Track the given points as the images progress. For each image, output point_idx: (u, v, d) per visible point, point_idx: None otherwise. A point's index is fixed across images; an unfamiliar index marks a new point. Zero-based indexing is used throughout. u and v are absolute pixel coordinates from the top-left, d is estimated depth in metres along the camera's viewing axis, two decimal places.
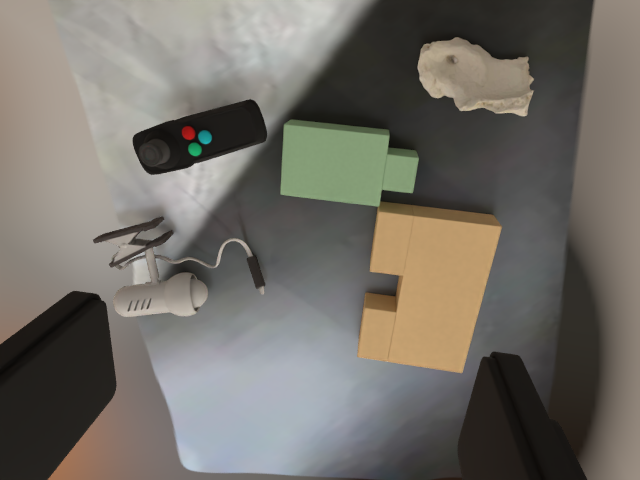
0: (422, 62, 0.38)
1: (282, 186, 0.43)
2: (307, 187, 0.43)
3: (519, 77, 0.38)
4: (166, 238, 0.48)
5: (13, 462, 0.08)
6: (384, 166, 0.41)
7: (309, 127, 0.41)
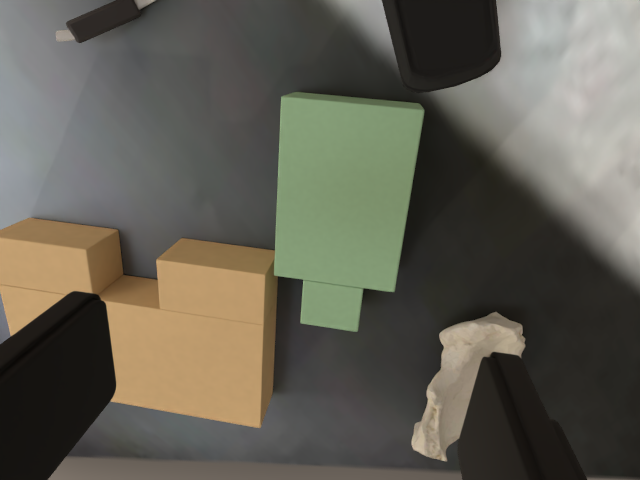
0: (500, 331, 0.25)
1: (298, 101, 0.21)
2: (300, 153, 0.22)
3: (460, 432, 0.29)
4: None
5: (13, 462, 0.08)
6: (343, 284, 0.25)
7: (414, 160, 0.22)
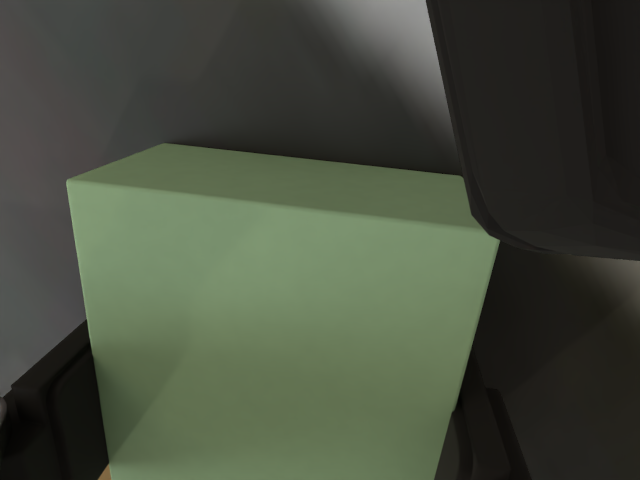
0: None
1: (116, 196, 0.07)
2: (142, 329, 0.08)
3: None
4: None
5: (86, 442, 0.09)
6: None
7: (463, 360, 0.07)
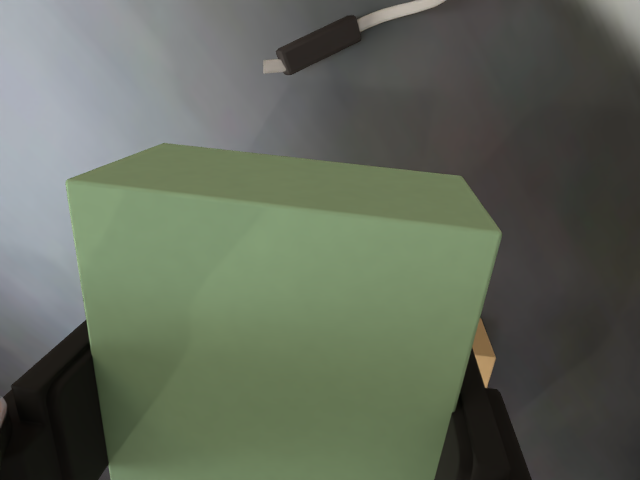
0: None
1: (115, 196, 0.07)
2: (142, 330, 0.08)
3: None
4: None
5: (86, 442, 0.09)
6: None
7: (463, 361, 0.07)
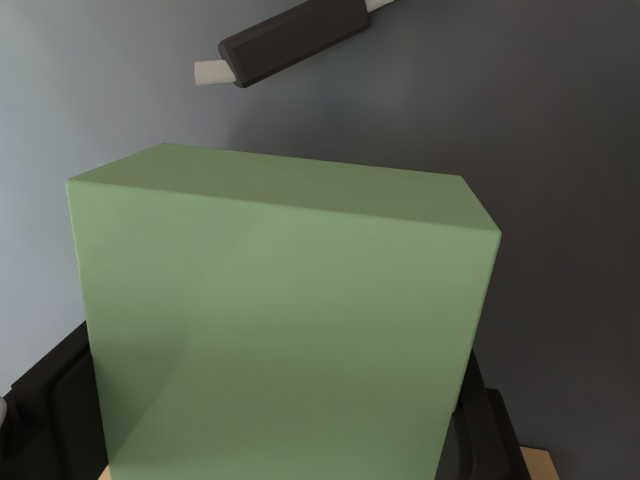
0: None
1: (115, 196, 0.07)
2: (141, 330, 0.08)
3: None
4: None
5: (86, 442, 0.09)
6: None
7: (463, 361, 0.07)
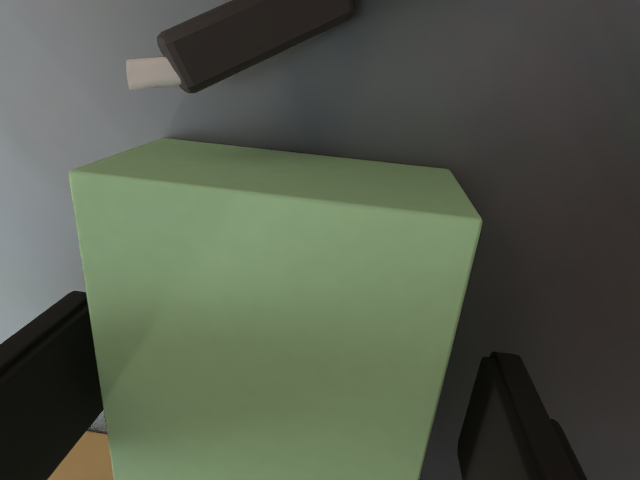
0: None
1: (116, 186, 0.07)
2: (141, 316, 0.08)
3: None
4: None
5: (13, 462, 0.08)
6: None
7: (448, 344, 0.08)
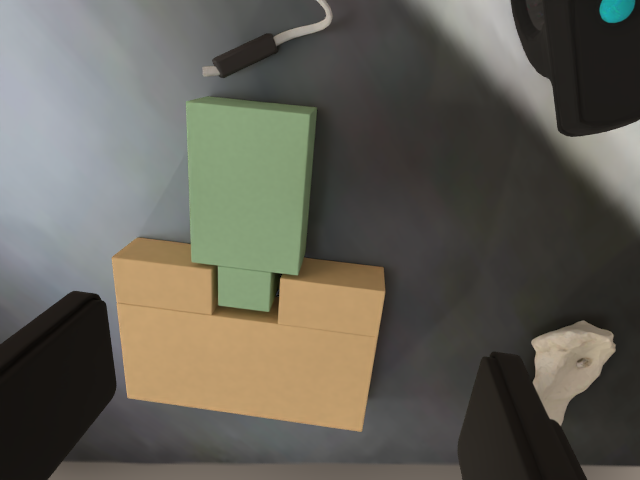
0: (596, 339, 0.28)
1: (201, 106, 0.24)
2: (206, 152, 0.25)
3: None
4: None
5: (13, 462, 0.08)
6: (253, 269, 0.28)
7: (306, 158, 0.25)
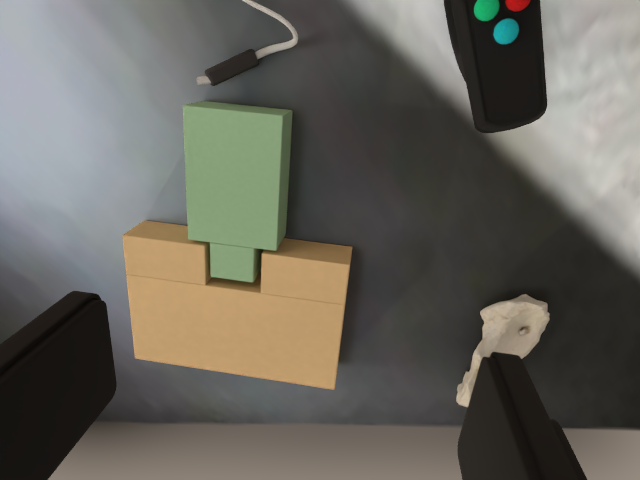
0: (531, 307, 0.33)
1: (195, 109, 0.29)
2: (199, 147, 0.30)
3: None
4: None
5: (13, 462, 0.08)
6: (239, 245, 0.33)
7: (280, 151, 0.30)
